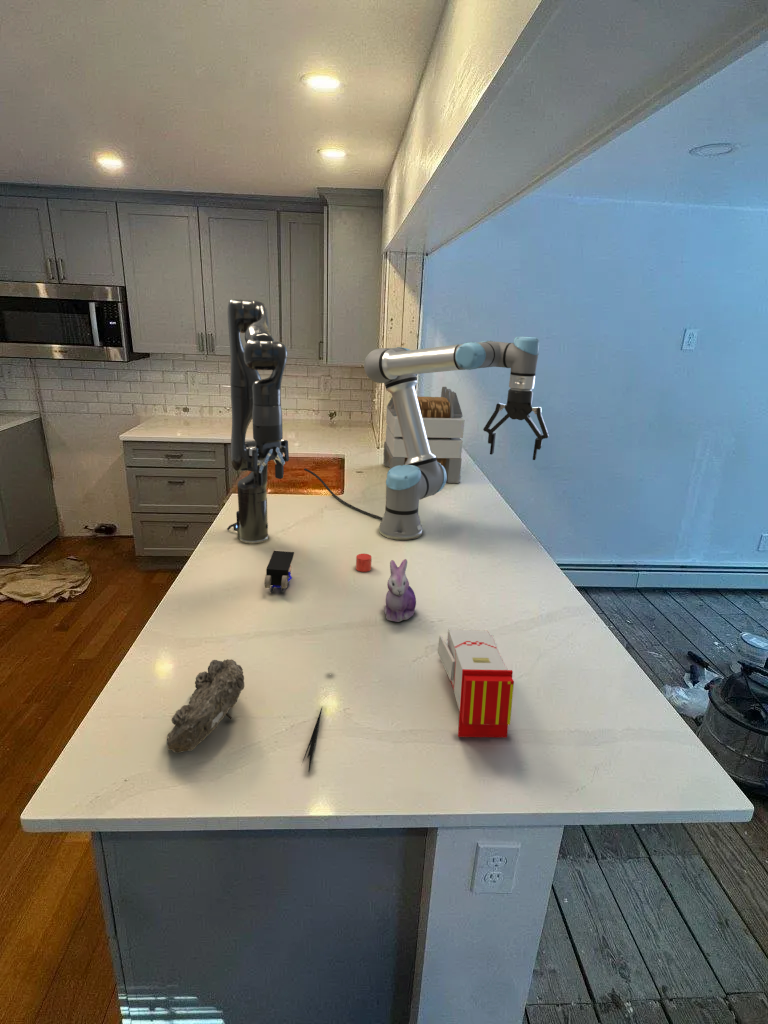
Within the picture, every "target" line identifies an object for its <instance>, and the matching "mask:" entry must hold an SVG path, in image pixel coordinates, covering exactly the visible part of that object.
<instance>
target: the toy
mask: <svg viewBox="0 0 768 1024" xmlns="http://www.w3.org/2000/svg"><path fill="white" fill-rule="evenodd" d="M446 640H447V643H446V641H445V639H444V636H443V635H442V634H439V637H438V646H437V656H438V657H439V659H440V661H441V663H442V666H443V668H444V670H445V672H446V674H447V677H448V679H449V681H450V684H451V687H452V690H453V693H454V697H455V701H456V705H457V708H458V711H459V714H458V715H459V716H458V730H457V731H458V732H457V737H458V738H508V731H509V726H510V725H511V717H512V707H513V697H514V696H513V695H514V684H515V680H514V679H513V673H514V671H513V670H512V669H508V667H507V665H506V662H505V661H504V659H503V658H502V655H501V653H500V651H499V649H498V647H497V643H496V639H495V637H494V635H493V634H491V632H490V631H489V629H467V628H466V629H465V628H463V629H461V628H460V629H459V628H448V630H447V639H446Z"/></svg>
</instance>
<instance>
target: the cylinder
mask: <svg viewBox="0 0 768 1024" xmlns="http://www.w3.org/2000/svg"><path fill="white" fill-rule="evenodd" d="M355 558H356V560H355V561H356V562H355V570H356V571H357V572H361V573H367V572H370V571H371V570H372V558H373V557H372V555H371V554H369V553H359V554H356V556H355Z"/></svg>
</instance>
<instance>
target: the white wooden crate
mask: <svg viewBox="0 0 768 1024" xmlns="http://www.w3.org/2000/svg"><path fill="white" fill-rule="evenodd" d="M440 393H441V394H440V396H417V399H418V403H419V407H420V411H421V415H422V419H423V424H424V428H425V432H426V436H427V440H428V444H429V448H430V452H431V453H432V454H434V455H435V456H436V458H437V462H439V463H440V464H441V465H442V466H443V467H444V468H445V470H446V474H447V480H446V483H449V484H455V483H456V484H459V483H461V472H462V461H463V460H462V453H463V442H464V441H463V440H462V439H463V438H464V431H465V430H464V429H465V419H464V418H463V411H462V408H461V405H460V402H459V398H458V395H457V392H455V391H453V390H452V389H451V388H447V386H442V387H441V392H440ZM385 414H386V415H385V423H386V428H385V438H384V442H383V466H384V467H388V468H389V470H390V469H391V468H393V467H395V466H398V465H401V466H402V465H405V463H406V461H407V459H408V457H407V453H406V449H405V445H404V442H403V438H402V434H401V430H400V426H399V422H398V418H397V414H396V410H395V406H394V402H393V398H392V397H391V398H390V400H389V402H388V404H387V405H386V413H385Z"/></svg>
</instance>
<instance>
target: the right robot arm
mask: <svg viewBox="0 0 768 1024" xmlns="http://www.w3.org/2000/svg"><path fill="white" fill-rule="evenodd" d="M539 349H540V340H539V338H538V337H533V336H530V337H529V336H515V338H514V339H513V342H505V341H504V342H503V341H495V340H481V341H479V342H477V341H476V342H475V341H469V342H465V343H460V344H450V345H442V346H435V347H434V346H433V347H426V348H418V349H410V348H407V347H401V346H397V347H385V348H384V347H381V348H376V349H373V350H371V351H370V352H369V353H367V355H366V357H365V359H364V363H363V368H364V372H365V374H366V376H367V377H368V378H369V380H371V381H372V382H374V383H377V384H384V387H385V391H387V392H388V393H390V394H391V398H393V402H394V406H395V410H396V414H397V418H398V422H399V426H400V430H401V434H402V438H403V442H404V445H405V449H406V453H407V457H408V459H407V461H406V463H405V465H402V466H401V465H398V466H395V467H393V468H391V469H390V468H389V470H388V471H387V474H386V479H385V504H384V505H385V507H384V508H385V509H384V513H383V515H382V516H380V515H377V514H374V513H371V512H369V511H365V510H363V509H361V508H359V507H356V506H355V505H352V504H350V503H348V502H347V501H345V500H343V499H342V498H340V496H338V495H336V494H335V493H334V492H333V491H332V490H331V488H329V486H328V485H327V484H326V482H325V481H324V480H323V479H322V478H321V477H320V476H319V475H318V474H316V473H315V472H314V471H312V470H310V469H308V468H305V467H304V468H303V470H304V471H305V472H307V473H309V474H311V475H312V476H314V477H315V478H316V479H317V480H319V482H320V483H321V484H322V485H323V486H324V487H325V489H326V490H327V491H328V492H329V493H330V495H332V496H333V497H334V498H335V499H336V500H338V502H340V503H342V504H343V505H345V506H347V507H349V508H351V509H353V510H355V511H357V512H359V513H362V514H364V515H367V516H369V517H372V518H375V519H378V520H381V522H379V526H378V533H379V534H380V535H381V536H382V537H385V538H387V539H389V540H395V541H410V540H415V539H418V538H420V537H421V536H422V535H423V525H422V524H421V518H420V515H419V507H420V506H419V505H420V500H423V499H425V498H428V497H430V496H434V495H436V494H438V493H439V492H441V491H442V490H443V489H444V488H445V486H446V483H447V481H446V480H447V474H446V470H445V468H444V467H443V466H442V465H441V464H440V463H439V462H437V458H436V456H435V455H434V454H432V453H431V452H430V448H429V444H428V440H427V436H426V432H425V428H424V424H423V419H422V415H421V411H420V407H419V403H418V399H417V391H416V386H417V384H418V377H417V376H418V375H421V374H431V373H433V374H434V373H441V372H443V373H444V372H453V371H466V370H468V371H469V370H470V371H471V370H477V369H484V368H504V369H505V368H506V369H510V374H509V383H508V388H509V389H508V391H507V397H506V398H507V399H506V403H505V404H504V403H502V402H497V404H496V405H495V409H494V411H493V413H492V415H491V416H490V417H489V419H488V421H487V423H486V424H485V425H484V427H483V428H482V430H483V432H486V433H487V435H488V437H487V444H490V448H489V455H491V456H492V455H493V454H494V453H495V445H496V436H497V435H496V433H497V432H495V431H496V430H498V428H499V427H501V426H502V425H503V424H504V423H505V422H506V421H507V420H508V419H509V418H510V419H511V420H518V421H523V420H524V421H525V422H526V423H527V425H528V426H529V428H531V431H532V432H533V433H534V435H535V436H536V437H535V439H534V447H533V454H532V461H536V459H537V456H538V455H537V454H538V450H541V449H542V444H543V440H544V439H548V438H549V437H550V433H549V430H548V427H547V425H546V422H545V419H544V417H543V413H542V411H543V409H542V408H543V407H542V406H533V398H534V397H533V396H534V391H533V390H534V388H535V382H536V372H537V365H538V358H539V354H540V351H539ZM503 409H504V410H505V412H506V414H505V415H504V416H503V417H502V418H501V419H500V420H499V421H498V422H497V423H496V424H494V426H493V427H491V426H492V424H493V423H494V421H495V420H496V418H497V416H498V415H499V413H500V412H501V411H503ZM532 412H533V413H534V415H536V418H537V421H538V424H539V426H540V428H541V431H540V429H539V428H538V426H537V425H536V424H535V422H534V421H533V418H532V417H531V415H530V414H531V413H532Z"/></svg>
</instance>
